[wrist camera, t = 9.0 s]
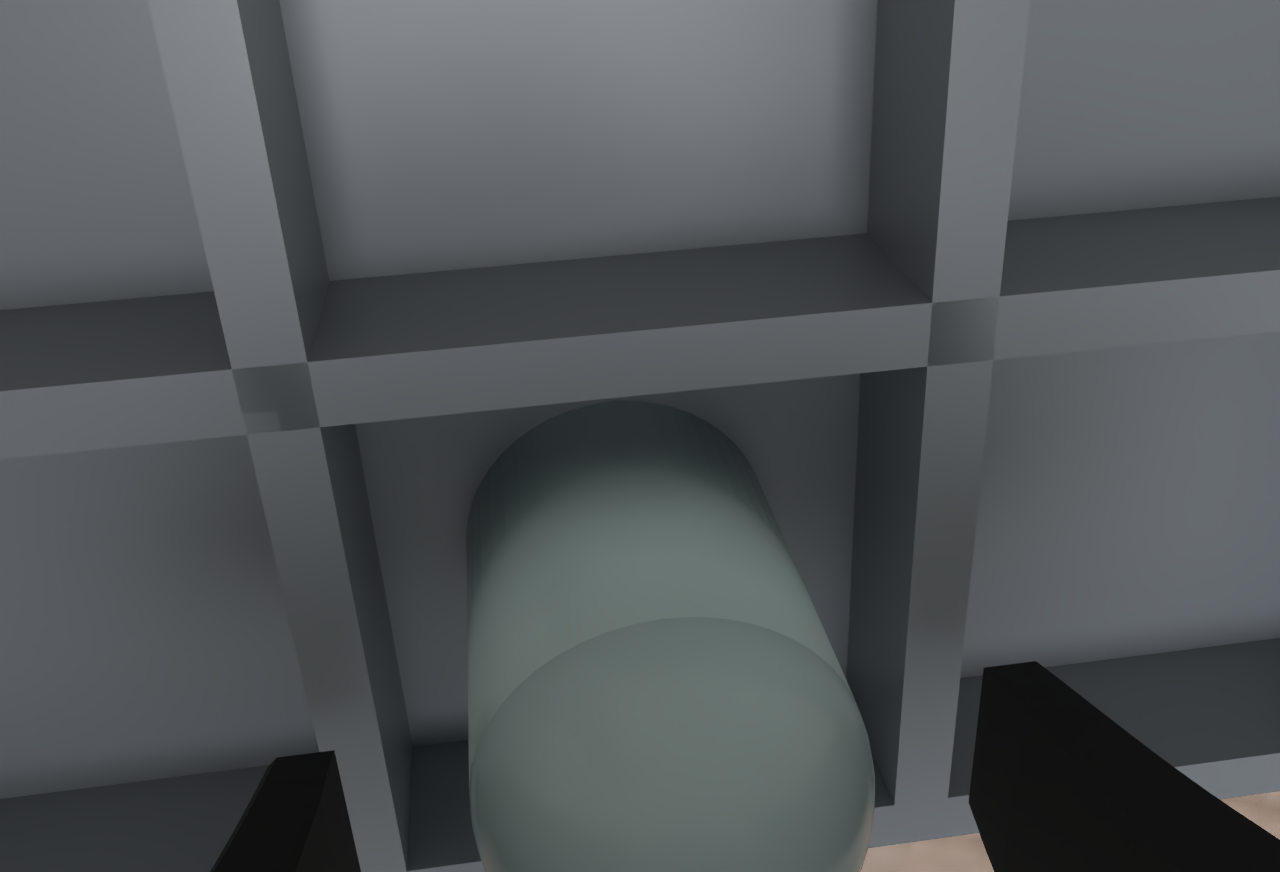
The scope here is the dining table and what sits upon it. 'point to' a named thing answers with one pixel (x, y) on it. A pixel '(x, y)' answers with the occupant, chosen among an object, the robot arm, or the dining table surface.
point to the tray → (619, 371)
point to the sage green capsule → (650, 662)
